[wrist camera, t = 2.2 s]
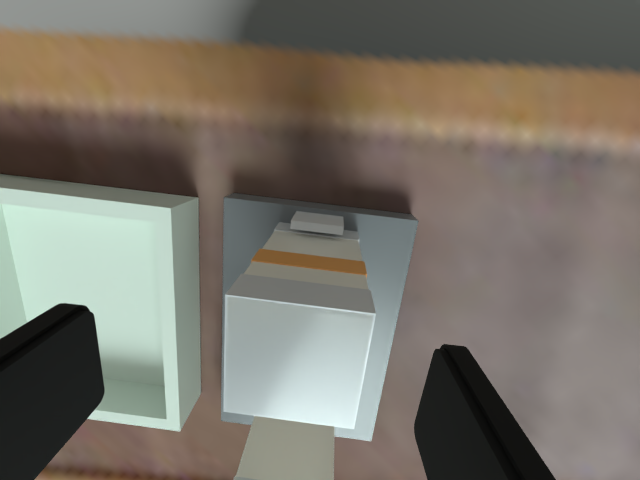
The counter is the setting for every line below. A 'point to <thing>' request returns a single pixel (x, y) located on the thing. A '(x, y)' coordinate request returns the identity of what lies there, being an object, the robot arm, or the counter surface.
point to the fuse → (287, 451)
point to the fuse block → (377, 252)
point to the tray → (111, 286)
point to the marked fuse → (299, 329)
